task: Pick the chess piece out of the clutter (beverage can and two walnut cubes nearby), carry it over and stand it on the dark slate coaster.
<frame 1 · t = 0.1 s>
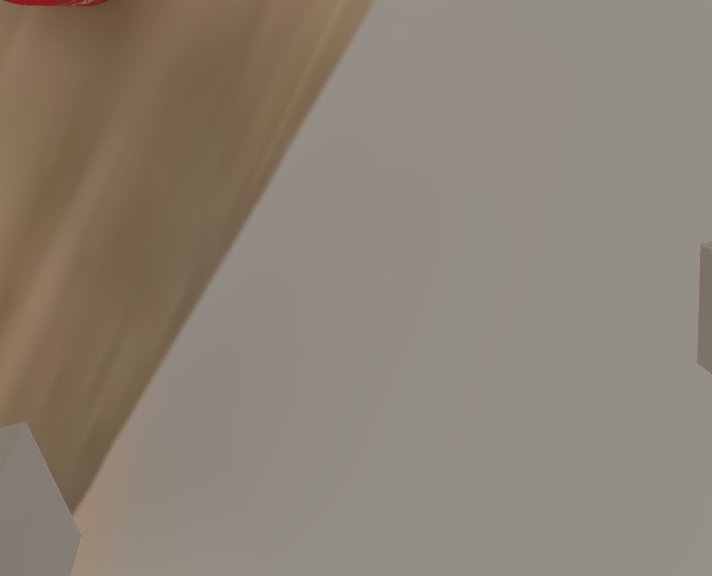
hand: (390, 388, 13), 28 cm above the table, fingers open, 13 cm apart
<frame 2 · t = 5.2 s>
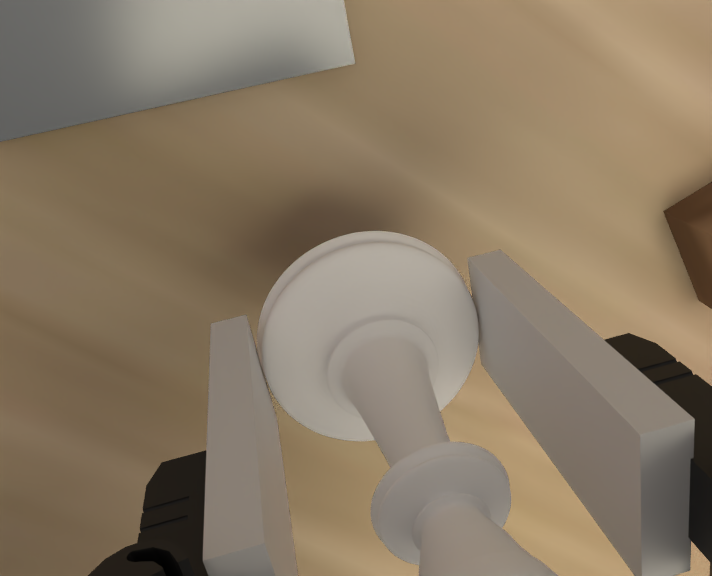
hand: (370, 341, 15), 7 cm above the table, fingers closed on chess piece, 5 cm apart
chess piece: (365, 330, 15), point 6 cm above the table, touching gripper
when the fingers open (1 cm above the table, at t = 9.6 s): chess piece stays where it is, resting on coaster.
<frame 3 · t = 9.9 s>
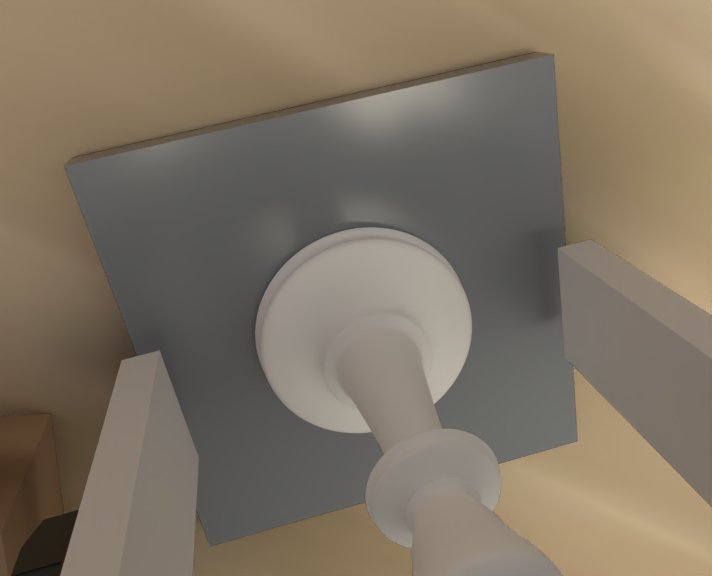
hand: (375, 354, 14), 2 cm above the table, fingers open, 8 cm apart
coaster: (357, 312, 16), on the table
chess piece: (361, 325, 15), point 1 cm above the table, touching coaster
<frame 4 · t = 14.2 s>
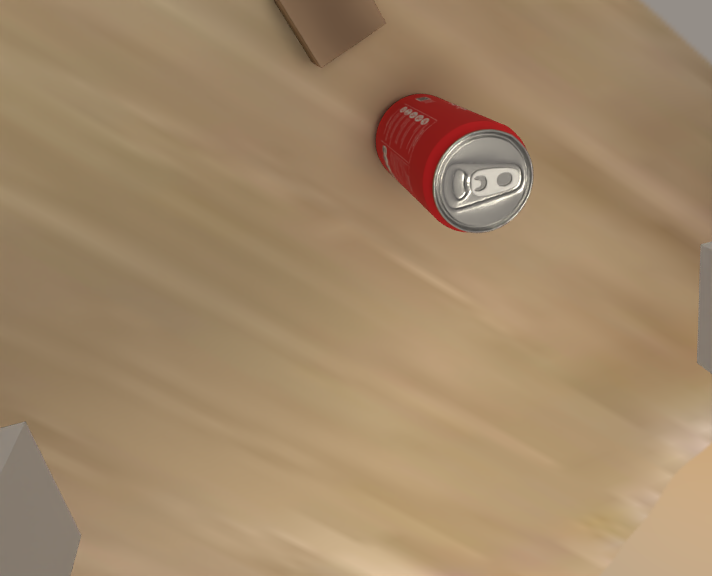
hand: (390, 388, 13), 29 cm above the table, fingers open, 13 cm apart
walnut cube A: (322, 9, 37), on the table
beverage can: (412, 135, 40), on the table
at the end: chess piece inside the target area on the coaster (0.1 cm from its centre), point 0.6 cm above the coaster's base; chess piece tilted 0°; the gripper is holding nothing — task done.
